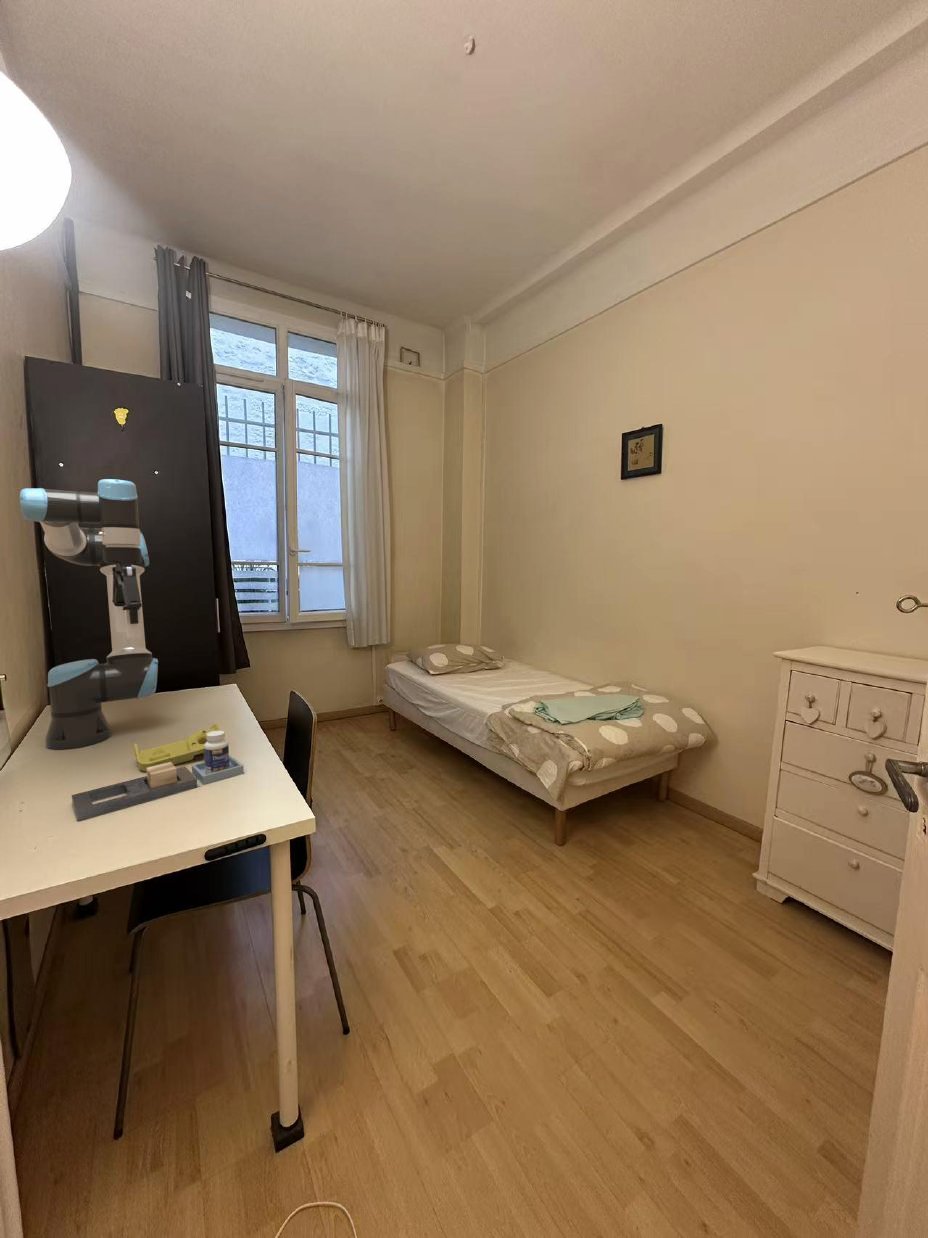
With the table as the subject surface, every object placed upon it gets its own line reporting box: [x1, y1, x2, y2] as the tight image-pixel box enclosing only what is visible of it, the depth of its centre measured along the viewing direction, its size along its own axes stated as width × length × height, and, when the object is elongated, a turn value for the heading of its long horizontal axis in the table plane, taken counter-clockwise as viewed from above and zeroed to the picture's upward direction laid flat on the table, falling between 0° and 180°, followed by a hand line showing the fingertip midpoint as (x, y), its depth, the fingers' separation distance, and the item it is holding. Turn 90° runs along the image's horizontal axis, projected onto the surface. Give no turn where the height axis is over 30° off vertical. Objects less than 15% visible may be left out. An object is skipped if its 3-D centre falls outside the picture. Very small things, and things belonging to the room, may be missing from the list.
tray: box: [191, 754, 245, 786], centre depth 121 cm, size 9×9×2 cm
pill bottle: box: [203, 730, 230, 774], centre depth 120 cm, size 5×5×10 cm
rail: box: [71, 766, 198, 822], centre depth 109 cm, size 10×22×2 cm, turn 134°
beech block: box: [146, 762, 177, 789], centre depth 112 cm, size 5×5×5 cm
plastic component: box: [133, 723, 222, 773], centre depth 131 cm, size 20×7×10 cm
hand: (128, 634), depth 118 cm, fingers open, 13 cm apart
